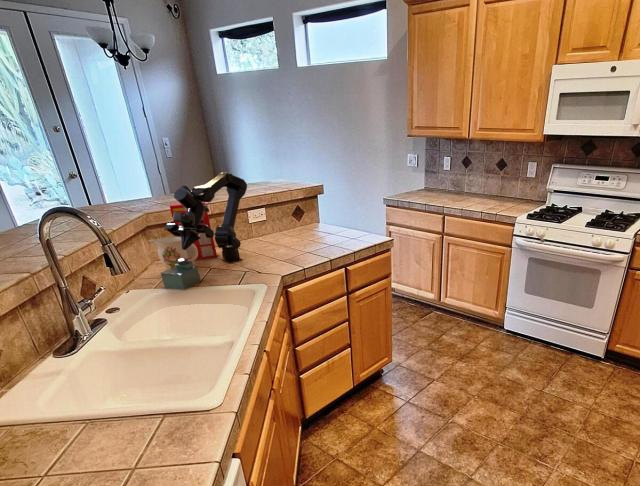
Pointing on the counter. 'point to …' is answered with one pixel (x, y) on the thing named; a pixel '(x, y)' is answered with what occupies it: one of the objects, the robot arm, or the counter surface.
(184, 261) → the lid button
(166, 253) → the pitcher
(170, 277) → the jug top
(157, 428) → the counter surface
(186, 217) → the robot arm
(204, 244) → the food packaging
